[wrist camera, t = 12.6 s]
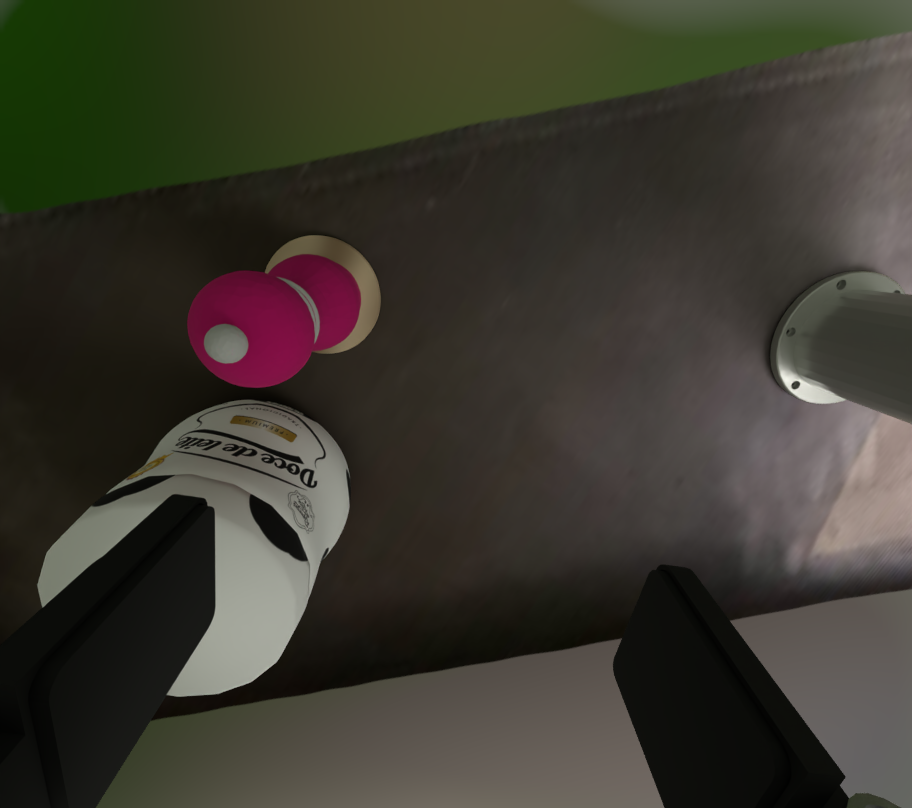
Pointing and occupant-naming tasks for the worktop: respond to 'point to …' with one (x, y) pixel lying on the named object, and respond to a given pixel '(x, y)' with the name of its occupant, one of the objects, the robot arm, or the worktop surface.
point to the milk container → (231, 528)
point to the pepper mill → (272, 319)
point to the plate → (354, 265)
